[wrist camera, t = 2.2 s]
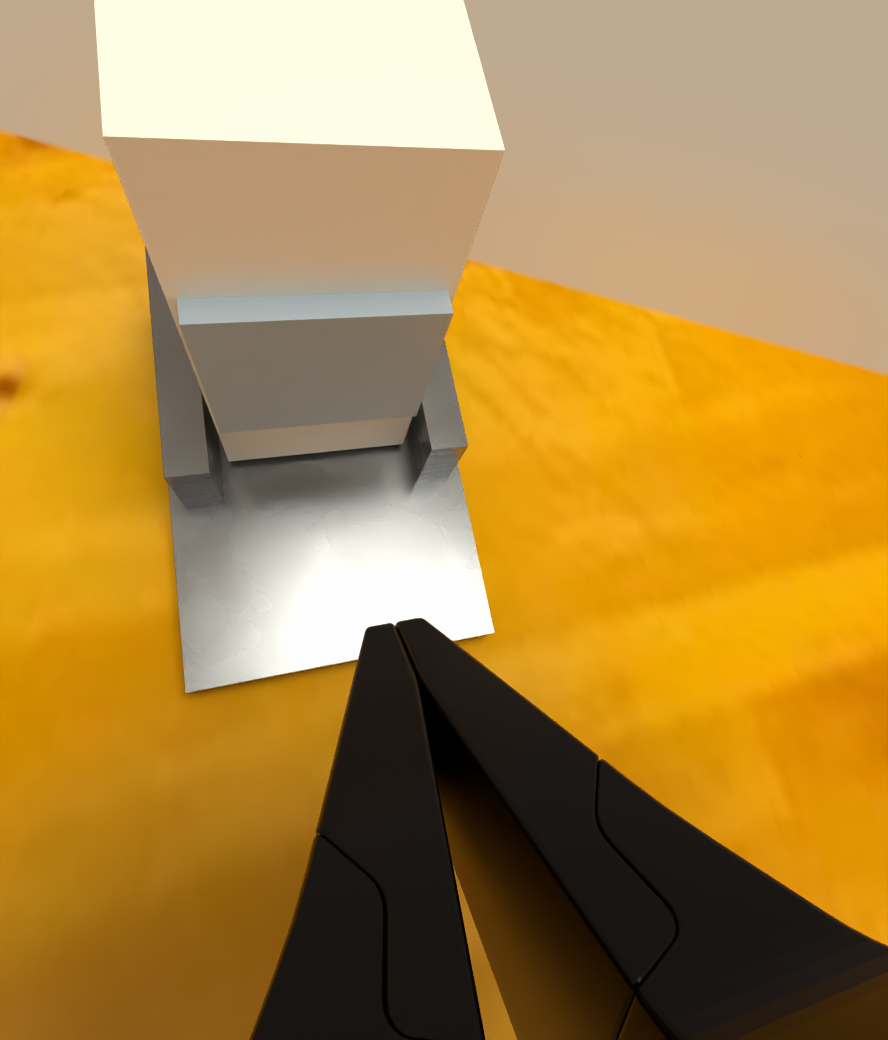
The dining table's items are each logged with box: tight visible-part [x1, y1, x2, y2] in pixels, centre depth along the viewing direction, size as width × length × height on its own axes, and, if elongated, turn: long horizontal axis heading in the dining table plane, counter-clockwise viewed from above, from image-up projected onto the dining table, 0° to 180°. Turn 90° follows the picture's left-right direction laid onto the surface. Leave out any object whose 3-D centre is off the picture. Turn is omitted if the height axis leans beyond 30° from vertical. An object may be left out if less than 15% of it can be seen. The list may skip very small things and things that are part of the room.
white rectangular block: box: [94, 0, 505, 462], centre depth 15 cm, size 4×6×12 cm
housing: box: [145, 246, 494, 693], centre depth 19 cm, size 14×10×4 cm
